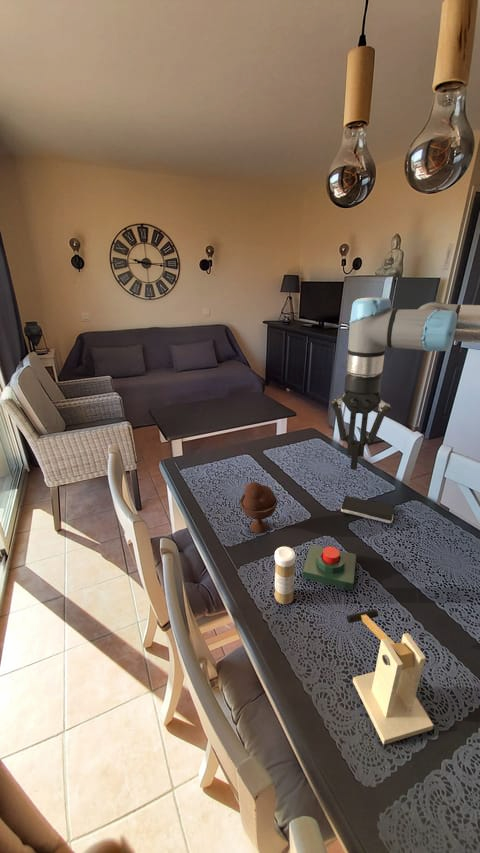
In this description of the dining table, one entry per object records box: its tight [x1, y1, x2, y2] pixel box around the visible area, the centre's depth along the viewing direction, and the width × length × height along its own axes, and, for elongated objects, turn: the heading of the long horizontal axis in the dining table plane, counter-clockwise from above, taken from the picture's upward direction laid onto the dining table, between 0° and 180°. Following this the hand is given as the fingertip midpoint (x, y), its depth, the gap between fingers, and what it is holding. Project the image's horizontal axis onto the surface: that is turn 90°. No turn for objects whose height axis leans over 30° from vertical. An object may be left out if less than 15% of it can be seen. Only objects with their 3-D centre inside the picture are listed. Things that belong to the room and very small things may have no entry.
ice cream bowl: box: [239, 481, 279, 534], centre depth 105 cm, size 11×11×15 cm
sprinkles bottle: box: [274, 546, 297, 605], centre depth 82 cm, size 5×5×14 cm
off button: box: [323, 546, 340, 564], centre depth 90 cm, size 4×4×2 cm
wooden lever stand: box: [352, 632, 434, 746], centre depth 60 cm, size 10×9×15 cm
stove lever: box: [346, 609, 414, 670], centre depth 64 cm, size 14×6×2 cm, turn 11°
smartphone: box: [340, 495, 395, 524], centre depth 113 cm, size 8×1×15 cm
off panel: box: [302, 544, 357, 591], centre depth 91 cm, size 12×10×4 cm
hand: (353, 466), depth 88 cm, fingers closed
